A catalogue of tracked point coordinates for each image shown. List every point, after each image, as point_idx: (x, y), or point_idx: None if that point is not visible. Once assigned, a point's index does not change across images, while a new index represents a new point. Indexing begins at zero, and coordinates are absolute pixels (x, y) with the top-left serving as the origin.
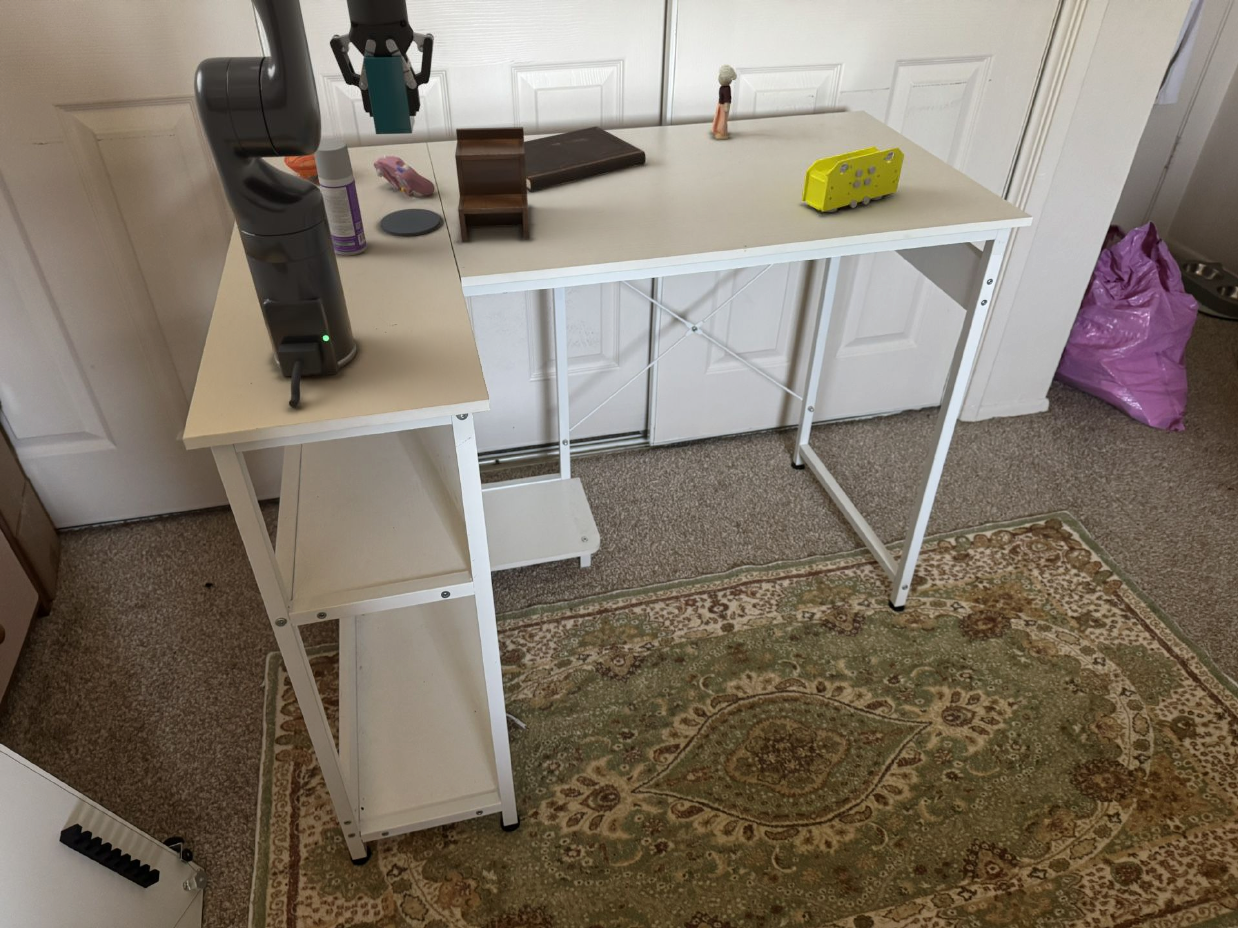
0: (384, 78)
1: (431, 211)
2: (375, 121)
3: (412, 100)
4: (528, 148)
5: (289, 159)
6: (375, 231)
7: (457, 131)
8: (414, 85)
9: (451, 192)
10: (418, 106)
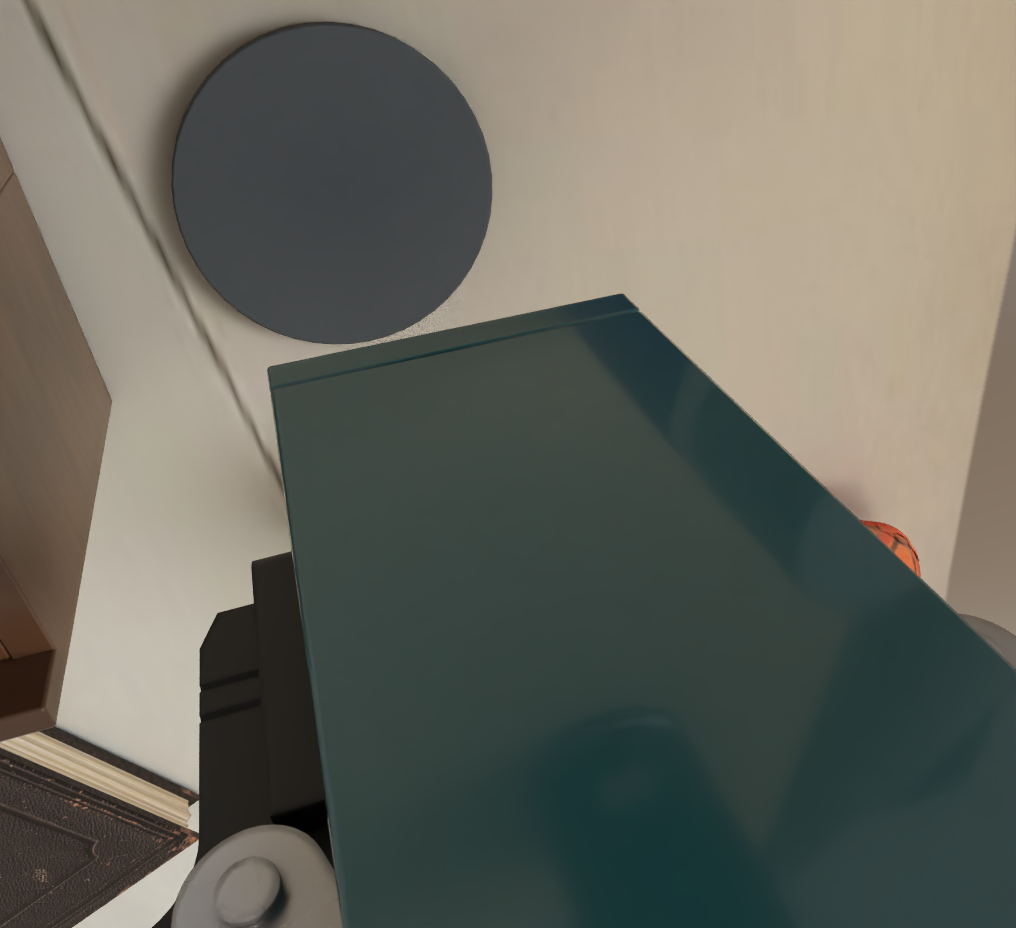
0: (747, 806)
1: (264, 322)
2: (664, 351)
3: (270, 685)
4: (10, 901)
5: (909, 554)
6: (500, 87)
7: (33, 701)
8: (210, 895)
9: (252, 548)
10: (213, 661)
